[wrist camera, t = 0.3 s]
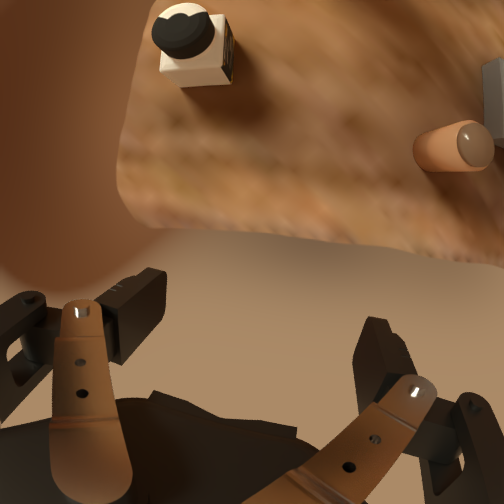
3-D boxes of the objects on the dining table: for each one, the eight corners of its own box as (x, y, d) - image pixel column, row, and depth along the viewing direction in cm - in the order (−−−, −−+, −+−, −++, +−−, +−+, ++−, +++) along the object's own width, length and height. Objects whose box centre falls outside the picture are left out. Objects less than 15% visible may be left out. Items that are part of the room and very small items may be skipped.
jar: (414, 128, 34) (458, 112, 23) (447, 138, 34) (497, 127, 22) (411, 167, 35) (456, 164, 24) (444, 175, 35) (495, 176, 23)
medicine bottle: (233, 85, 36) (210, 49, 24) (178, 88, 36) (139, 58, 25) (235, 37, 34) (215, -9, 22) (182, 42, 35) (148, 2, 23)
